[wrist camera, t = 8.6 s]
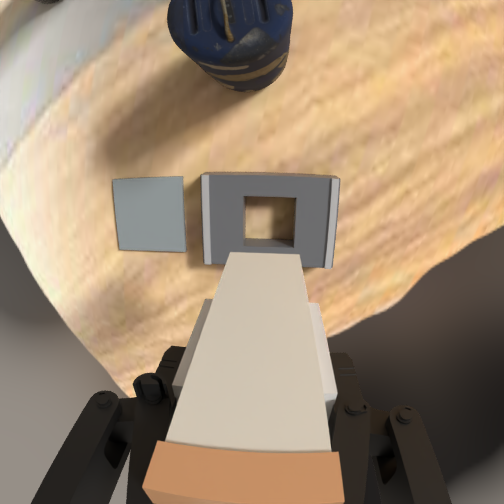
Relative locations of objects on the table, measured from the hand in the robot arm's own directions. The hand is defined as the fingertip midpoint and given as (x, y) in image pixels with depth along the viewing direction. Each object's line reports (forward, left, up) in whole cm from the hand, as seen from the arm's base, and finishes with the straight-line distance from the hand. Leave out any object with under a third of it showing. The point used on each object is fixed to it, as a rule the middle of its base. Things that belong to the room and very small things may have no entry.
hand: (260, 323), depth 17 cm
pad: (-16, 0, -24) cm, 29 cm away
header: (0, 0, -24) cm, 24 cm away
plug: (0, 0, -5) cm, 5 cm away
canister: (-3, +20, -24) cm, 31 cm away
